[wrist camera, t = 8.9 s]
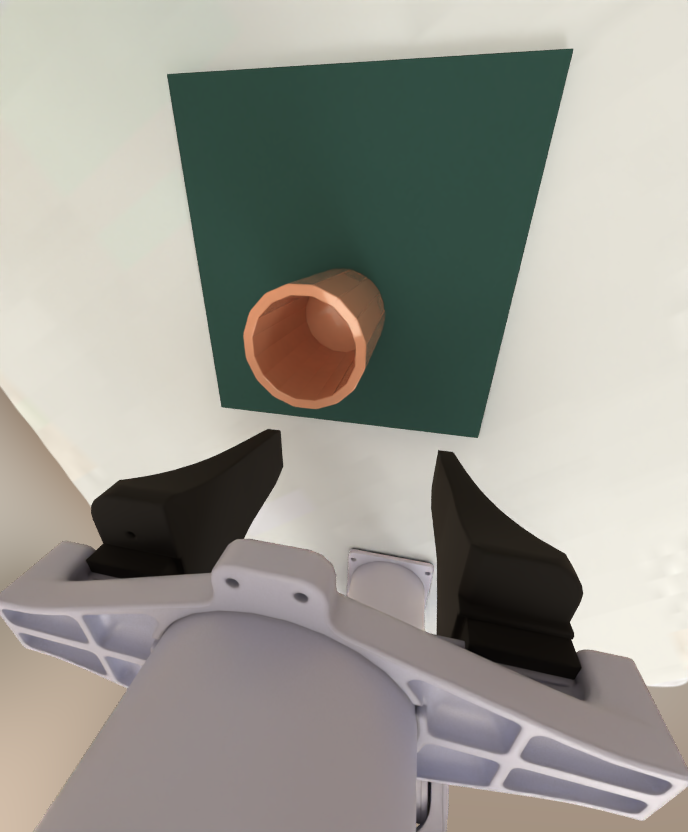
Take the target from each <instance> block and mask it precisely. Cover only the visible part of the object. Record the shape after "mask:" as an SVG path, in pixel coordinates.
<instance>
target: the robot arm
mask: <svg viewBox="0 0 688 832" xmlns="http://www.w3.org/2000/svg"><path fill="white" fill-rule="evenodd" d="M282 468H283V457H282V444H281V432H280V430H272V429H267V430H265V431H263V432H261V433H259V434H257V435H255V436H253V437H251V438H250V439H248V440H246V441H244V442H242V443H240V444H238V445H237V446H235V447H233V448H230V449H228V450H226V451H224V452H222V453H220V454H218V455H216V456H214V457H211V458H209V459H206V460H204V461H201V462H198V463H195V464H192V465H189V466H186V467H183V468H179V469H176V470H172V471H168V472H164V473H160V474H155V475H150V476H145V477H138V478H132V479H125V480H119V481H118V482H116V483H115V484H114V485H113V486H111V487H110V488H109V489H108V490H106V491H105V492H104V493H103V494H101V495H100V496H99V497H98V498H96V499H95V500H94V501H93V503H92V505H91V514H92V517H93V521H94V523H95V525H96V528H97V530H98V532H99V534H100V537H101V539H102V541H103V544H102V545H101V546H100V547H99V548H98V549H97V550H95V549H93V548H92V547H91V546H88V545H84V544H79V543H75V542H69V541H62V542H61V543H60V544H58V545H57V546H56V547H55V548H54V549H52V550H51V551H50V552H49V553H48V554H46V555H45V556H44V557H43V558H41V559H40V560H39V561H38V562H37V563H36V564H34V565H33V566H32V567H31V568H29V569H28V570H27V571H26V572H25V573H23V574H22V575H21V576H20V577H19V578H17V579H16V580H15V581H14V582H12V583H11V584H10V585H9V586H8V587H7V588H5V589H4V590H3V591H2V592H0V616H1V617H2V618H3V620H4V621H5V622H6V624H7V625H8V626H9V628H10V629H11V630H12V632H13V633H14V634H15V636H16V637H17V639H18V640H19V641H20V643H21V644H22V645H23V647H24V648H27V649H30V650H34V651H37V652H40V653H43V654H47V655H49V656H52V657H55V658H58V659H60V660H63V661H66V662H69V663H71V664H73V665H76V666H78V667H80V668H83V669H85V670H87V671H90V672H92V673H94V674H96V675H99V676H101V677H103V678H105V679H108V680H110V681H112V682H114V683H116V684H119V685H121V686H123V687H125V688H127V690H126V692H125V693H124V695H123V696H122V698H121V699H120V701H119V702H118V704H117V705H116V707H115V709H114V710H113V712H112V713H111V715H110V716H109V718H108V719H107V721H106V722H105V724H104V725H103V727H102V728H101V730H100V731H99V733H98V734H97V736H96V737H95V739H94V740H93V742H92V743H91V745H90V746H89V748H88V749H87V751H86V753H85V754H84V755H83V757H82V758H81V760H80V761H79V763H78V764H77V766H76V767H75V769H74V770H73V772H72V774H71V775H70V777H69V778H68V780H67V781H66V783H65V784H64V786H63V787H62V789H61V790H60V792H59V793H58V795H57V796H56V798H55V799H54V801H53V802H52V804H51V805H50V807H49V808H48V810H47V811H46V813H45V814H44V816H43V818H42V819H41V820H40V822H39V823H38V825H37V826H36V828H35V830H34V831H33V832H447V819H448V805H449V803H448V802H449V785H455V786H462V787H469V788H476V789H483V790H490V791H497V792H504V793H510V794H517V795H525V796H531V797H537V798H543V799H549V800H554V801H561V802H566V803H571V804H575V805H580V806H585V807H589V808H594V809H599V810H603V811H607V812H611V813H614V814H618V815H622V816H626V817H630V818H634V819H637V820H642V821H643V820H645V819H646V818H648V817H649V816H650V815H652V814H653V813H654V812H655V811H657V810H658V809H659V808H661V807H662V806H663V805H665V804H666V803H667V802H668V801H670V800H671V799H672V798H674V797H675V796H676V795H678V794H679V793H680V792H682V791H683V790H684V789H685V788H687V787H688V768H687V766H686V764H685V762H684V760H683V758H682V756H681V754H680V752H679V750H678V748H677V746H676V744H675V742H674V740H673V738H672V736H671V734H670V732H669V730H668V728H667V726H666V724H665V722H664V720H663V719H662V716H661V714H660V712H659V710H658V709H657V706H656V704H655V702H654V700H653V698H652V696H651V694H650V692H649V690H648V689H647V686H646V684H645V683H644V681H643V679H642V677H641V675H640V673H639V671H638V669H637V667H636V665H635V663H634V661H633V660H632V659H630V658H628V657H623V656H618V655H613V654H608V653H604V652H599V651H594V650H581V651H578V652H577V653H576V651H575V649H574V646H573V643H572V641H571V639H573V638H574V632H573V629H572V627H571V624H570V621H571V619H572V617H573V615H574V613H575V611H576V610H577V608H578V606H579V604H580V602H581V599H582V596H583V590H582V585H581V583H580V581H579V578H578V576H577V574H576V572H575V570H574V568H573V566H572V564H571V563H570V561H569V559H568V558H567V556H566V554H565V553H563V552H561V551H559V550H558V549H556V548H554V547H552V546H551V545H549V544H547V543H545V542H543V541H542V540H540V539H538V538H537V537H535V536H534V535H532V534H531V533H529V532H528V531H526V530H525V529H524V528H522V527H521V526H519V525H518V524H517V523H515V522H514V521H513V520H512V519H510V518H509V517H508V516H507V515H505V514H504V513H503V512H502V511H501V510H500V509H499V508H498V507H496V506H495V505H494V504H493V503H492V502H491V501H490V500H489V499H488V498H487V497H486V496H485V495H484V493H483V492H482V491H481V490H480V489H479V488H478V487H477V485H476V484H475V483H474V481H473V480H472V479H471V477H470V476H469V475H468V473H467V472H466V471H465V469H464V468H463V466H462V465H461V463H460V462H459V460H458V459H457V457H456V455H455V454H454V453H453V452H448V451H440V450H438V455H437V460H436V466H435V472H434V477H433V483H432V494H431V510H432V519H433V528H434V536H435V545H436V555H437V635H434V634H430V633H428V632H426V631H425V608H426V603H427V599H428V594H429V590H430V585H431V581H432V576H433V572H434V566H433V565H432V564H430V563H426V562H420V561H415V560H409V559H404V558H399V557H393V556H388V555H382V554H377V553H372V552H366V551H361V550H355V549H352V550H350V551H349V559H348V582H347V596H345V595H343V594H341V593H339V592H338V591H337V588H336V573H335V570H334V567H333V565H332V564H331V563H330V562H329V561H328V560H327V559H326V558H325V557H324V556H323V555H321V554H319V553H316V552H313V551H311V550H307V549H302V548H296V547H291V546H286V545H280V544H275V543H270V542H264V541H259V540H253V539H244V537H245V535H246V533H247V531H248V529H249V527H250V525H251V524H252V522H253V520H254V518H255V517H256V515H257V514H258V512H259V510H260V509H261V507H262V506H263V504H264V502H265V501H266V499H267V498H268V496H269V494H270V493H271V491H272V489H273V488H274V486H275V484H276V482H277V480H278V478H279V476H280V473H281V471H282ZM416 823H418V824H420V825H419V826H418V827H416Z"/></svg>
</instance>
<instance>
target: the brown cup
mask: <svg viewBox="0 0 688 832" xmlns="http://www.w3.org/2000/svg"><path fill="white" fill-rule="evenodd" d="M384 321H385V307H384V302H383V299H382V296H381V294H380V292H379V290H378V288H377V287H376V286H375V284H374V283H373V282H372V281H371V280H370V279H369V278H367V277H366V276H365V275H363V274H361V273H359V272H357V271H354V270H350V269H331V270H328V271H325V272H322V273H319V274H316V275H313V276H310V277H307V278H304V279H300V280H297V281H294V282H291V283H288V284H285V285H283V286H281V287H278V288H276V289H274V290H271V291H269V292H267V293H266V294H264V295H263V296H262V297H261V299H260V300H259V301H258V302H257V303H256V304H255V306H254V307H253V308H252V309H251V310H250V312H249V315H248V319H247V323H246V326H245V330H244V335H243V337H244V345H245V354H246V358H247V361H248V363H249V365H250V367H251V369H252V371H253V373H254V375H255V377H256V379H257V380H258V382H259V383H260V384H261V385H262V386H263V387H264V388H265V389H266V390H267V391H268V392H269V393H270V394H271V395H272V396H274V397H276V398H278V399H280V400H282V401H284V402H286V403H288V404H290V405H292V406H295V407H301V408H310V409H319V408H323V407H326V406H330V405H334V404H337V403H339V402H340V401H341V400H342V399H344V398H345V397H346V396H347V395H349V394H350V393H351V392H352V391H354V389H355V388H356V386H357V384H358V382H359V380H360V378H361V376H362V374H363V372H364V370H365V368H366V366H367V364H368V361H369V359H370V357H371V355H372V352H373V350H374V348H375V346H376V343H377V341H378V339H379V337H380V334H381V332H382V330H383V327H384Z"/></svg>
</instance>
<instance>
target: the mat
mask: <svg viewBox="0 0 688 832" xmlns="http://www.w3.org/2000/svg"><path fill="white" fill-rule="evenodd" d="M572 53H573V49H558V50H543V51H527V52H511V53H495V54H479V55H464V56H448V57H432V58H416V59H400V60H385V61H369V62H353V63H337V64H321V65H306V66H290V67H274V68H258V69H242V70H227V71H211V72H195V73H179V74H167V77H168V83H169V89H170V96H171V102H172V108H173V114H174V120H175V126H176V132H177V138H178V144H179V150H180V156H181V163H182V169H183V175H184V181H185V187H186V193H187V199H188V205H189V211H190V217H191V223H192V230H193V236H194V242H195V248H196V254H197V260H198V266H199V272H200V278H201V284H202V290H203V297H204V303H205V309H206V315H207V321H208V327H209V333H210V339H211V345H212V351H213V357H214V364H215V370H216V376H217V382H218V388H219V394H220V400H221V406H222V407H224V408H233V409H241V410H249V411H258V412H266V413H274V414H283V415H291V416H299V417H308V418H316V419H324V420H333V421H341V422H349V423H358V424H366V425H374V426H382V427H391V428H399V429H407V430H416V431H424V432H432V433H441V434H449V435H457V436H466V437H474V438H478V436H479V432H480V428H481V423H482V419H483V415H484V411H485V407H486V403H487V399H488V395H489V391H490V387H491V383H492V379H493V375H494V371H495V366H496V362H497V358H498V354H499V350H500V346H501V342H502V338H503V334H504V330H505V326H506V322H507V318H508V314H509V309H510V305H511V301H512V297H513V293H514V289H515V285H516V281H517V277H518V273H519V269H520V265H521V261H522V257H523V252H524V248H525V244H526V240H527V236H528V232H529V228H530V224H531V220H532V216H533V212H534V208H535V204H536V200H537V195H538V191H539V187H540V183H541V179H542V175H543V171H544V167H545V163H546V159H547V155H548V151H549V147H550V143H551V138H552V134H553V130H554V126H555V122H556V118H557V114H558V110H559V106H560V102H561V98H562V94H563V90H564V86H565V81H566V77H567V73H568V69H569V65H570V61H571V57H572ZM331 269H350V270H354V271H357V272H359V273H361V274H363V275H365V276H366V277H367V278H369V279H370V280H371V281H372V282H373V283H374V284H375V286H376V287H377V288H378V290H379V292H380V294H381V296H382V299H383V302H384V307H385V321H384V327H383V330H382V332H381V334H380V337H379V339H378V341H377V343H376V346H375V348H374V350H373V352H372V355H371V357H370V359H369V361H368V364H367V366H366V368H365V370H364V372H363V374H362V376H361V378H360V380H359V382H358V384H357V386H356V388H355V389H354V391H352V392H351V393H350V394H349V395H347V396H346V397H345V398H344V399H342V400H341V401H340V402H339V403H337V404H334V405H330V406H326V407H323V408H319V409H310V408H301V407H295V406H292V405H290V404H288V403H286V402H284V401H282V400H280V399H278V398H276V397H274V396H272V395H271V394H270V393H269V392H268V391H267V390H266V389H265V388H264V387H263V386H262V385H261V384H260V383H259V382H258V380H257V379H256V377H255V375H254V373H253V371H252V369H251V367H250V365H249V363H248V361H247V358H246V354H245V345H244V337H243V335H244V330H245V326H246V323H247V319H248V315H249V312H250V310H251V309H252V308H253V307H254V306H255V304H256V303H257V302H258V301H259V300H260V299H261V297H262V296H263V295H264V294H266V293H267V292H269V291H271V290H274V289H276V288H278V287H281V286H283V285H285V284H288V283H291V282H294V281H297V280H300V279H304V278H307V277H310V276H313V275H316V274H319V273H322V272H325V271H328V270H331Z"/></svg>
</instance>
